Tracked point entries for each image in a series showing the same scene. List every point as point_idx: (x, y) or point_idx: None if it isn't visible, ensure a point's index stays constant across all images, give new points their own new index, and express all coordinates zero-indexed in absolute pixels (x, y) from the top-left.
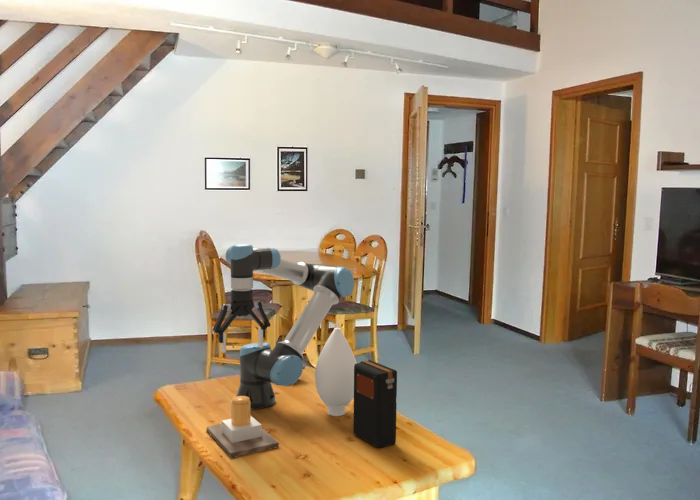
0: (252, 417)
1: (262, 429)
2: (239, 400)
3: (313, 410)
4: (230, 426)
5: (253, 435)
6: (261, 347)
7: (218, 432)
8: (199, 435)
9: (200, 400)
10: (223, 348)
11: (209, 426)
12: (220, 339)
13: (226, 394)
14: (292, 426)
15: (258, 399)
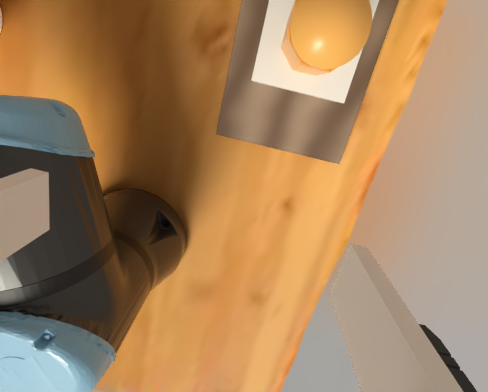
0: (258, 54)
1: (239, 31)
2: (348, 9)
3: (29, 81)
4: None
5: None
6: (41, 173)
7: (343, 105)
8: (366, 148)
9: (234, 323)
10: (380, 272)
11: (333, 159)
12: (445, 359)
13: (167, 317)
14: (141, 18)
15: (142, 205)
